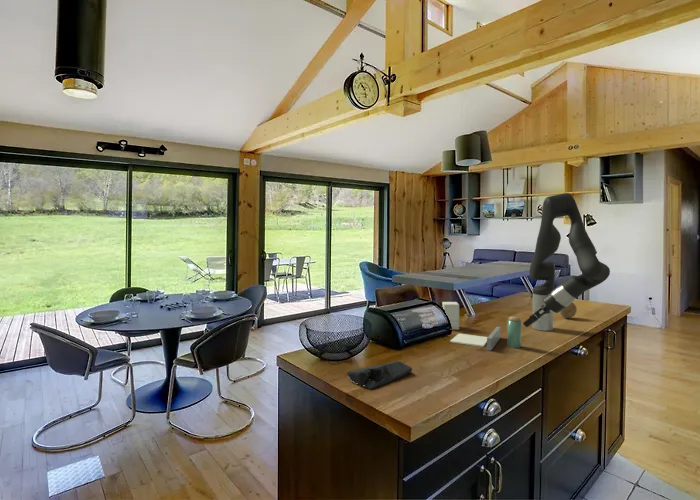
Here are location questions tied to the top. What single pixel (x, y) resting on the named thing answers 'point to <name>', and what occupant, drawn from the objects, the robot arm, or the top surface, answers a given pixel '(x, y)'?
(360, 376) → the dark slate chunk
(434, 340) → the top surface
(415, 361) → the top surface
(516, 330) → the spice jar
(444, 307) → the supplement box
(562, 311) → the natural sponge
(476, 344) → the rubber mat
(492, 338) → the low wall
